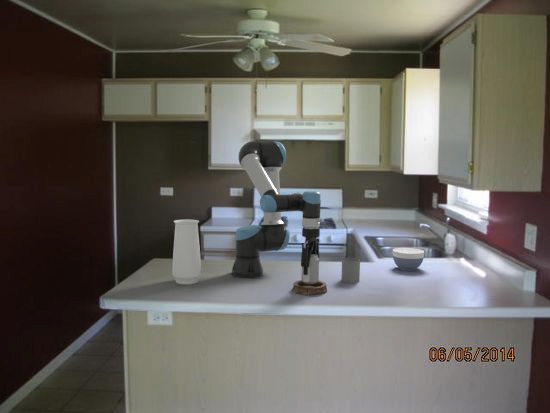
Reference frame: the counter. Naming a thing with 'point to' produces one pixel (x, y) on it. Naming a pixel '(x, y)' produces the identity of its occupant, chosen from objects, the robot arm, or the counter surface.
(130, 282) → the counter surface
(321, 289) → the tray
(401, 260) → the bowl
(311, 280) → the can
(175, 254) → the vase
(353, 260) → the cup
